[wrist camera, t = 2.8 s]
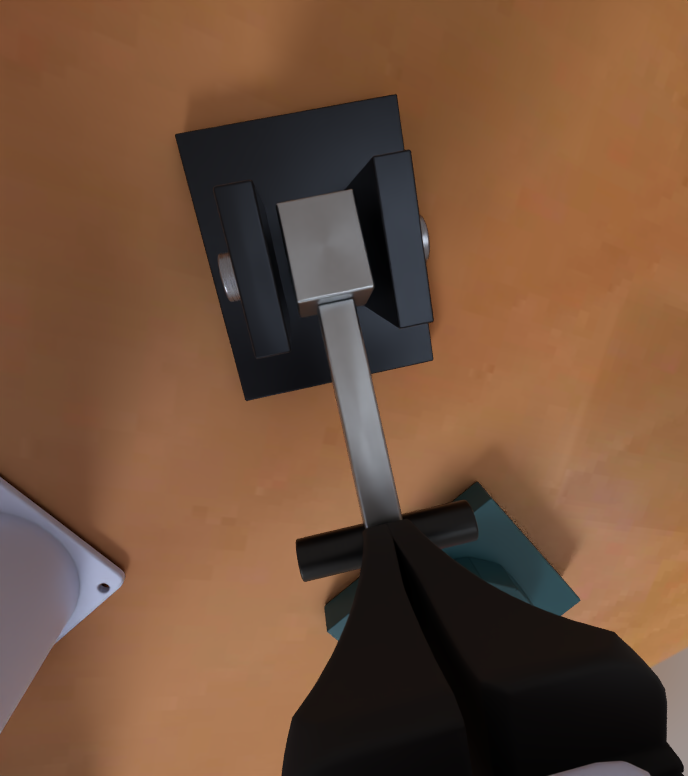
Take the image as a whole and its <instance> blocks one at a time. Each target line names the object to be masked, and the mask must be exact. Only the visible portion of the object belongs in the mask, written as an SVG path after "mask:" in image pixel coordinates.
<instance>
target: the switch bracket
mask: <svg viewBox="0 0 688 776" xmlns="http://www.w3.org/2000/svg"><path fill="white" fill-rule="evenodd" d="M175 138H176V141H177V145H178V149H179V153H180V156H181V160H182V164H183V168H184V171H185V175H186V179H187V183H188V186H189V190H190V194H191V198H192V201H193V205H194V209H195V213H196V216H197V220H198V224H199V228H200V231H201V235H202V239H203V243H204V246H205V250H206V254H207V258H208V262H209V265H210V269H211V273H212V277H213V280H214V284H215V288H216V292H217V295H218V299H219V303H220V307H221V310H222V314H223V318H224V322H225V325H226V329H227V333H228V337H229V340H230V344H231V348H232V352H233V355H234V359H235V363H236V367H237V370H238V374H239V378H240V382H241V386H242V389H243V393H244V397H245V400H246V401H248V400H253V399H258V398H262V397H267V396H271V395H276V394H281V393H285V392H290V391H294V390H299V389H304V388H308V387H313V386H318V385H322V384H327V383H331V382H332V378H331V374H330V369H329V365H328V360H327V355H326V351H325V346H324V342H323V337H322V332H321V328H320V323H319V319H318V315H314V316H309V317H304V318H301V317H300V316H299V312H298V308H297V303H296V299H295V294H294V290H293V285H292V281H291V276H290V271H289V267H288V262H287V258H286V253H285V248H284V244H283V239H282V235H281V230H280V225H279V221H278V216H277V212H276V204H277V203H281V202H286V201H291V200H297V199H302V198H307V197H312V196H317V195H323V194H328V193H333V192H338V191H343V190H349V189H353V190H354V192H355V196H356V200H357V205H358V210H359V214H360V219H361V223H362V228H363V232H364V237H365V242H366V246H367V251H368V255H369V260H370V264H371V269H372V273H373V278H374V283H375V288H374V290H373V291H372V293H371V295H370V297H369V299H368V301H367V303H366V304H365V305H362V306H357V307H356V308H357V313H358V318H359V322H360V327H361V331H362V336H363V340H364V345H365V350H366V354H367V359H368V363H369V368H370V372H371V374H373V373H377V372H382V371H387V370H391V369H396V368H401V367H405V366H410V365H414V364H419V363H424V362H428V361H432V360H433V353H432V346H431V339H430V331H429V324H428V323H431V322H433V321H434V319H433V311H432V304H431V297H430V289H429V282H428V274H427V267H426V261H427V260H428V258H429V251H430V243H429V235H428V230H427V226H426V223H425V221H424V219H423V217H422V216H421V215H419V207H418V200H417V193H416V185H415V178H414V170H413V163H412V155H411V151H410V150H409V149H408V150H404V143H403V136H402V129H401V122H400V114H399V107H398V100H397V95H396V94H394V95H389V96H383V97H378V98H372V99H367V100H361V101H355V102H350V103H344V104H339V105H333V106H328V107H322V108H317V109H311V110H306V111H300V112H295V113H289V114H284V115H278V116H273V117H267V118H262V119H256V120H251V121H245V122H240V123H234V124H228V125H223V126H217V127H212V128H206V129H201V130H195V131H190V132H184V133H179V134H175Z"/></svg>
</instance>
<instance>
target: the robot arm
mask: <svg viewBox="0 0 688 776" xmlns="http://www.w3.org/2000/svg"><path fill="white" fill-rule="evenodd" d="M362 535H363V557H362V564H361V570H360V576H359V581H358V585H357V589H356V593H355V597H354V601H353V604H352V607H351V610H350V613H349V616H348V619H347V622H346V624H345V627H344V629H343V632H342V634H341V636H340V639H339V641H338V643H337V646H336V648H335V650H334V652H333V654H332V656H331V658H330V659H329V661H328V663H327V665H326V667H325V668H324V670H323V672H322V674H321V675H320V677H319V679H318V681H317V682H316V684H315V686H314V687H313V689H312V690H311V692H310V693H309V694H308V696H307V697H306V699H305V700H304V702H303V703H302V704H301V706H300V707H299V709H298V710H297V712H296V713H295V714H294V716H293V717H292V721H291V725H290V729H289V734H288V738H287V743H286V748H285V753H284V760H283V768H282V776H684V775H683V774H682V773H681V772H683V771H684V766H683V764H682V762H681V760H680V758H679V757H678V756H677V755H676V753H675V752H674V751H673V749H672V748H671V747H670V746H669V744H668V743H667V742H666V738H667V699H666V693H665V688H664V687H663V685H662V683H661V681H660V680H659V678H658V676H657V675H656V674H655V673H654V672H653V671H652V670H651V668H650V667H649V666H648V665H647V664H646V663H645V662H644V661H643V659H642V658H641V657H640V656H639V655H638V654H637V653H636V652H635V651H634V650H633V649H632V648H631V647H630V646H628V645H627V644H626V643H625V642H624V641H623V640H622V639H621V638H620V637H619V636H618V635H617V634H616V633H615V632H612V631H609V630H605V629H602V628H598V627H594V626H591V625H587V624H584V623H580V622H577V621H573V620H570V619H567V618H565V617H562V616H559V615H556V614H553V613H551V612H548V611H545V610H543V609H540V608H538V607H535V606H533V605H531V604H528V603H526V602H524V601H522V600H520V599H518V598H516V597H513V596H511V595H509V594H507V593H505V592H503V591H501V590H500V589H498V588H496V587H494V586H492V585H491V584H489V583H487V582H486V581H484V580H482V579H481V578H479V577H478V576H476V575H475V574H473V573H472V572H470V571H469V570H467V569H466V568H465V567H463V566H462V565H460V564H459V563H458V562H456V561H455V560H454V559H452V558H451V557H450V556H449V555H447V554H446V553H445V552H444V551H443V550H441V549H440V548H439V547H438V546H436V545H435V544H434V543H433V542H432V541H431V540H430V539H429V538H427V537H426V536H425V535H424V534H423V533H422V532H421V531H420V530H419V529H418V528H417V527H416V526H415V525H414V524H413V523H412V522H411V521H410V520H408V519H403V520H399V521H395V522H390V523H386V524H382V525H378V526H373V527H369V528H365V530H364V531H363V532H362ZM124 580H125V574H124V572H123V571H122V570H121V569H120V568H119V567H117V566H116V565H115V564H113V563H112V562H111V561H110V560H108V559H107V558H106V557H104V556H103V555H102V554H100V553H99V552H98V551H96V550H95V549H94V548H93V547H91V546H90V545H89V544H87V543H86V542H85V541H83V540H82V539H81V538H80V537H78V536H77V535H76V534H74V533H73V532H72V531H70V530H69V529H68V528H66V527H65V526H64V525H63V524H61V523H60V522H59V521H57V520H56V519H55V518H53V517H52V516H51V515H49V514H48V513H47V512H46V511H44V510H43V509H42V508H40V507H39V506H38V505H36V504H35V503H34V502H32V501H31V500H30V499H29V498H27V497H26V496H25V495H23V494H22V493H21V492H19V491H18V490H17V489H15V488H14V487H13V486H12V485H10V484H9V483H8V482H6V481H5V480H4V479H2V478H1V477H0V733H1V732H2V730H3V728H4V727H5V725H6V723H7V722H8V720H9V718H10V717H11V715H12V713H13V712H14V710H15V708H16V707H17V705H18V703H19V702H20V700H21V698H22V697H23V695H24V693H25V692H26V690H27V688H28V687H29V685H30V683H31V682H32V680H33V678H34V677H35V675H36V673H37V672H38V670H39V668H40V667H41V665H42V663H43V662H44V660H45V658H46V657H47V655H48V654H49V652H50V650H51V649H52V647H53V645H54V644H55V643H56V642H58V641H59V640H60V639H61V638H62V637H63V636H65V635H66V634H67V633H68V632H69V631H70V630H71V629H73V628H74V627H75V626H76V625H77V624H78V623H80V622H81V621H82V620H83V619H84V618H85V617H86V616H88V615H89V614H90V613H91V612H92V611H93V610H94V609H96V608H97V607H98V606H99V605H100V604H101V603H103V602H104V601H105V600H106V599H107V598H108V597H109V596H111V595H112V594H113V593H114V592H115V591H116V590H117V589H119V588H120V587H121V585H122V584H123V582H124ZM101 583H105V584H108V586H109V587H104V586H102V584H101Z"/></svg>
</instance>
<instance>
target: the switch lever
mask: <svg viewBox="0 0 688 776" xmlns="http://www.w3.org/2000/svg"><path fill="white" fill-rule="evenodd" d="M276 212H277V216H278V221H279V225H280V230H281V235H282V239H283V244H284V248H285V253H286V258H287V262H288V267H289V271H290V276H291V281H292V285H293V290H294V294H295V299H296V303H297V308H298V312H299V316H300V317H301V318H304V317H309V316H314V315H318V319H319V323H320V328H321V332H322V337H323V342H324V346H325V351H326V355H327V360H328V365H329V369H330V374H331V378H332V383H333V387H334V392H335V397H336V401H337V406H338V410H339V415H340V420H341V424H342V429H343V433H344V438H345V442H346V447H347V452H348V456H349V461H350V465H351V470H352V475H353V479H354V484H355V488H356V493H357V497H358V502H359V507H360V511H361V516H362V520H363V524H359V525H354V526H350V527H346V528H342V529H337V530H333V531H329V532H325V533H320V534H316V535H312V536H308V537H304V538H299V539H297V540H296V553H297V560H298V565H299V570H300V574H301V577H302V579H303V581H304V582H307V581H311V580H315V579H319V578H323V577H327V576H331V575H336V574H340V573H344V572H348V571H352V570H356V569H360V568H361V564H362V557H363V535H362V532H363V531H364V530H365V528H369V527H373V526H378V525H382V524H386V523H390V522H395V521H399V520H403V519H408V520H410V521H411V522H412V523H413V524H414V525H415V526H416V527H417V528H418V529H419V530H420V531H421V532H422V533H423V534H424V535H425V536H426V537H427V538H429V539H430V540H431V541H432V542H433V543H434V544H435V545H436V546H438V547H439V548H440V549H443V548H447V547H451V546H455V545H460V544H464V543H468V542H472V541H476V540H477V539H478V525H477V521H476V518H475V515H474V512H473V510H472V508H471V506H470V504H469V503H468V502H467V501H466V500H460V501H456V502H452V503H448V504H443V505H439V506H435V507H431V508H426V509H422V510H418V511H414V512H409V513H405V514H401V509H400V505H399V500H398V496H397V491H396V487H395V482H394V477H393V473H392V468H391V464H390V459H389V455H388V450H387V445H386V441H385V436H384V432H383V427H382V423H381V418H380V413H379V409H378V404H377V400H376V395H375V391H374V386H373V382H372V377H371V372H370V368H369V363H368V359H367V354H366V350H365V345H364V340H363V336H362V331H361V327H360V322H359V318H358V313H357V308H356V307H357V306H362V305H365V304H366V303H367V301H368V299H369V297H370V295H371V293H372V291H373V290H374V288H375V283H374V278H373V273H372V269H371V264H370V260H369V255H368V251H367V246H366V242H365V237H364V232H363V228H362V223H361V219H360V214H359V210H358V205H357V200H356V196H355V192H354V190H353V189H349V190H343V191H338V192H333V193H328V194H323V195H317V196H312V197H307V198H302V199H297V200H291V201H286V202H281V203H277V204H276Z"/></svg>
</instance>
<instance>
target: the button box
mask: <svg viewBox="0 0 688 776" xmlns="http://www.w3.org/2000/svg"><path fill="white" fill-rule="evenodd" d="M460 500H466V501H467V502H468V503H469V504H470V506H471V508H472V510H473V512H474V515H475V518H476V521H477V525H478V539H477V540H476V541H472V542H468V543H464V544H460V545H455V546H451V547H447V548H443V549H441V550H443V551H444V552H445V553H446V554H447V555H449V556H450V557H451V558H452V559H454V560H455V561H456V562H458V563H459V564H460V565H462V566H463V567H465V568H466V569H467V570H469V571H470V572H472V573H473V574H475V575H476V576H478V577H479V578H481V579H482V580H484V581H486V582H487V583H489V584H491V585H492V586H494V587H496V588H498V589H500V590H501V591H503V592H505V593H507V594H509V595H511V596H513V597H516V598H518V599H520V600H522V601H524V602H526V603H528V604H531V605H533V606H535V607H538V608H540V609H543V610H545V611H548V612H551V613H553V614H556V615H559V616H561V615H562V614H564V613H565V612H566V611H568V610H569V609H570V608H572V607H573V606H574V605H575V604H577V603H578V602H579V601H580V598H579V597H578V596H577V595H576V594H575V592H574V591H573V590H572V589H571V588H570V587H569V585H568V584H567V583H566V582H565V581H564V580H563V578H562V577H561V576H560V575H559V574H558V573H557V572H556V570H555V569H554V568H553V567H552V566H551V565H550V564H549V562H548V561H547V560H546V559H545V558H544V557H543V556H542V554H541V553H540V552H539V551H538V550H537V549H536V548H535V546H534V545H533V544H532V543H531V542H530V541H529V540H528V538H527V537H526V536H525V535H524V534H523V533H522V532H521V530H520V529H519V528H518V527H517V526H516V525H515V524H514V522H513V521H512V520H511V519H510V518H509V517H508V516H507V514H506V513H505V512H504V511H503V510H502V509H501V508H500V506H499V505H498V504H497V503H496V502H495V501H494V500H493V498H492V497H491V496H490V495H489V494H488V493H487V492H486V490H485V489H484V488H483V487H482V486H481V485H480V484H479V482H476V483H475V484H473V485H472V486H471V487H470V488H468V489H467V490H466V491H465V492H464V493H462V494H461V495H460V496H459V497H457V498H456V499H455V500H454V501H453V502H456V501H460ZM451 503H452V502H451ZM358 581H359V578H358V579H357V580H356V581H355V582H353V583H352V584H351V585H350V586H348V587H347V588H346V589H345V590H344V591H342V592H341V593H340V594H339V595H337V596H336V597H335V598H334V599H333V600H331V601H330V602H329V603H328V604H326V605H325V617H326V626H327V632H328V633H329V634H331V635H332V636H333V637H334V638H335V639H337V640H338V641H339V639H340V636H341V634H342V632H343V629H344V627H345V624H346V622H347V619H348V616H349V613H350V610H351V607H352V604H353V601H354V597H355V593H356V589H357V585H358Z"/></svg>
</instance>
